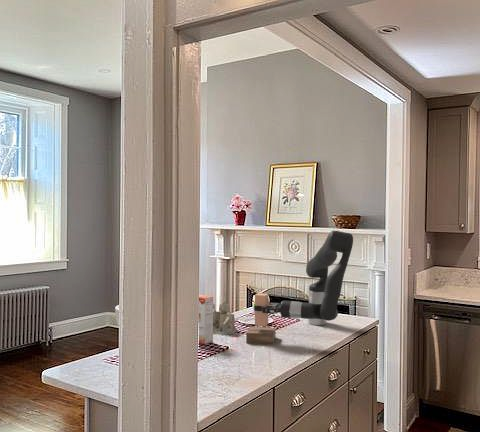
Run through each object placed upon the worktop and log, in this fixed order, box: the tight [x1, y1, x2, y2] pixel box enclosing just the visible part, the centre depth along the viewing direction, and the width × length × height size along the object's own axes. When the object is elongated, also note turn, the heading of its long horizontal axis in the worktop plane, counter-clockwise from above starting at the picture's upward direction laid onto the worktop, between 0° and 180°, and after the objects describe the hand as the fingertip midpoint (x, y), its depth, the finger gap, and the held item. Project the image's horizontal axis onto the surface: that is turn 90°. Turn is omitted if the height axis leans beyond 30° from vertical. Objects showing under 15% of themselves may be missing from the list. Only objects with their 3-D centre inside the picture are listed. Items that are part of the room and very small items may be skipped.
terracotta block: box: [254, 292, 269, 327], centre depth 226 cm, size 5×5×14 cm
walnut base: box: [245, 326, 277, 346], centre depth 226 cm, size 12×12×5 cm
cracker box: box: [198, 294, 214, 345], centre depth 224 cm, size 14×6×21 cm, turn 51°
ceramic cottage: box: [213, 298, 237, 336], centre depth 243 cm, size 16×16×15 cm
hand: (256, 307), depth 227 cm, fingers closed on terracotta block, 5 cm apart
